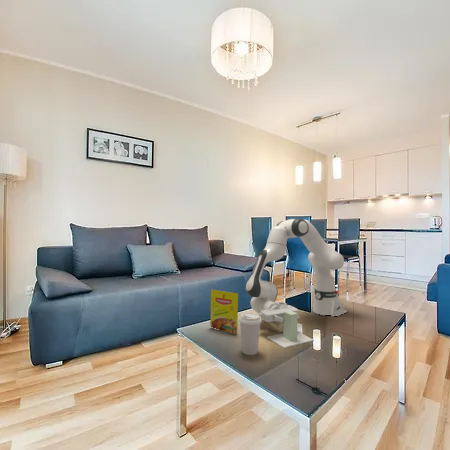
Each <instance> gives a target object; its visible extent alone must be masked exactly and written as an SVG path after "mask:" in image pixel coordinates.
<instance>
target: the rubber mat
mask: <svg viewBox="0 0 450 450" xmlns="http://www.w3.org/2000/svg"><path fill="white" fill-rule="evenodd" d="M266 339H268V340H270V341H271V342H273V343H274V344H276V345H278V346H279V347H280V348H282V349H288V348H290V347H295V346H299V345H303V344H306V343H307V344H308V343H311V342H314V341H315V340H314V339H313V338H311V337H310V336H307V335H305V334H303V333H301V332H299V331H297V340H293V341H289V340H288V339H286V338H284V337H283V333H279V334H274V335H270V336H267V337H266Z"/></svg>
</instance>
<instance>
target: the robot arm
mask: <svg viewBox="0 0 450 450" xmlns="http://www.w3.org/2000/svg"><path fill="white" fill-rule="evenodd" d="M294 238H300V239H299V240H301V241H302V244H304V246H305V248H306V249H307V250H308V251H309V253H308V256H307V260H308V262H309V263H310V265H311V266H312V269H313V271H314V276H315V277H314V278H315V289H314V300H313V306H312V308H313V309H312V313H314V314H317V315H319V314H320V316H325V315H331V316H330V317H334V316H338V315H341V314H343V313H345V312H346V311H345V310H346V309H345V305H344V302H343V301H342V300H341V299H339V298H338V297H337V295H339V294H340V291H338V290H335V277H334V276H333V275H332V274H331V271H330V270H332V271H333V270H340V269H342V268H343V266H344V264H345V258H344V256H343V254H341V253H339V252H337V251H336V250H335V249H334V248H332V246H330V245H329V244H328V243H327V242H326V241H325V240H324V239H323V237H322V236H321V234H320V233H319V231H318V229H317V228H316V227H315V226H314V225H313V223H311V222H310V221H309V220H308V219H303V218H290V219H286V220H281V221H280V222H278V223H277V224H276V225H275V226H273V227H272V228H271V229H270V231H269V234H268V237H267V241H266V245H265V247H264V249H263V250H261V251H260V252H259V253H258V255H257V257H256V260H255V263H254V266H253V267H252V270H251V274H250V275H249V277H248V279H247V281H246V283H245V291H246V294H247V295H248V297H250V299H251V300H250V301H249V303H250V306H251V309H252V310H253V311H255V312H256V314H258V315H259V316H260V318H261V320H263V322H264V321H266V322H272V321H280V322H284V312H285V311H292V312H295V313H297V314H298V319H297V320H300V315H299V314H300V313H299V311H300V310H299V309H298V308H296V307H295V306H292V305H289V304H287V303H286V302H278V301H276V299H277V298H278V291H279V290H278V286H277V285H276V284H275V283H274V282H270V281H267V280H263V279H261V277H262V275H263V273H264V269H265V266H266V264H268V263H269V262H275V261H279V260H280V259H282V258H283V257H284V255H285V253H286V249H287V244H288V243H287V242H288V239H294ZM344 309H345V310H344ZM343 315H344V314H343ZM341 316H342V315H341ZM338 317H339V316H338Z"/></svg>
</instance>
